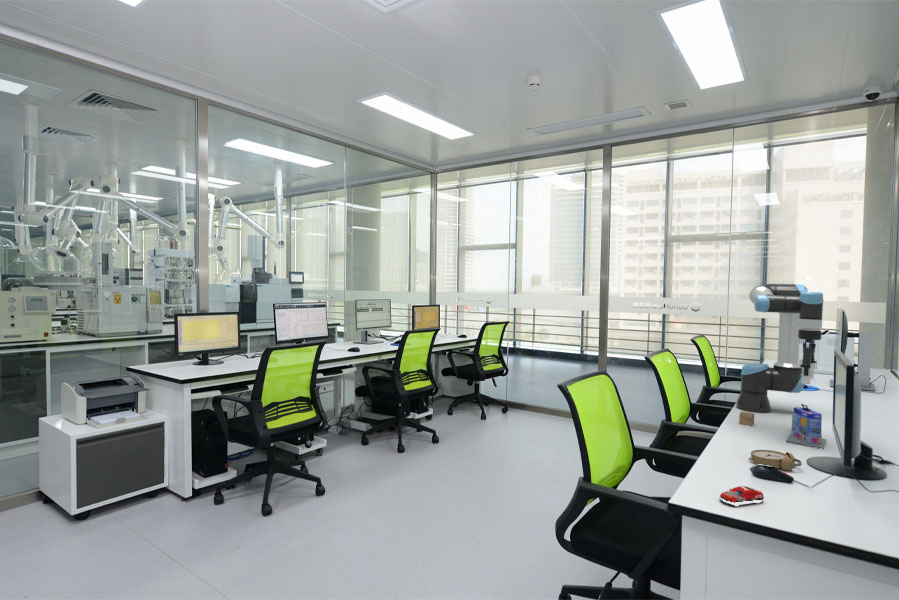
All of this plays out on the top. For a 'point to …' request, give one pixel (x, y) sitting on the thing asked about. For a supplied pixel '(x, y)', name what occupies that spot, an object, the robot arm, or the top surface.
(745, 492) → the race car
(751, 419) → the walnut cube
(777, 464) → the alarm clock
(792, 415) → the slate cylinder
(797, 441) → the charcoal mat
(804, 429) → the ink cartridge box
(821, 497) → the top surface
